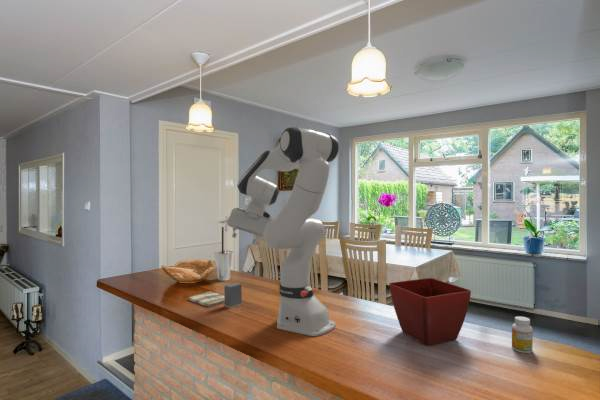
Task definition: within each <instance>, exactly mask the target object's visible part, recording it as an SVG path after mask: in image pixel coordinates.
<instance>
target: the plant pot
mask: <svg viewBox="0 0 600 400" xmlns="http://www.w3.org/2000/svg"><path fill="white" fill-rule="evenodd" d="M388 285H389V286H388V287H389V292H390V297H391V300H392V305H393V309H394V312H395V315H396V318H397V320H398V324H399V326H400V328H401V331H402V333H404V334H406V335H408V337H410V338H413V339H414V340H416V341H418V342H419V343H421V344H423V345H425V346H431V345H432V346H433V345H436V344H442V343H447V342H452V341H456V340H457V339H458V338H459V337H458V336H459V334H460V332H461V329H462V328H463V326H464V323H465V319H466V316H467V312H468V308H469V304H470V300H471V295H472V290H471V289H468V288H465V287H461V286H458V285H455V284H453V283H452V284H451V283H449V282H446V281H442V280H439V279H436V278H432V277H428V278H419V279H417V278H416V279H409V280H401V281H396V282H390V283H389V284H388Z"/></svg>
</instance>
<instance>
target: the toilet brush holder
mask: <svg viewBox="0 0 600 400" xmlns="http://www.w3.org/2000/svg"><path fill="white" fill-rule="evenodd" d="M224 237H225V236H224V226H222V227H221V250H217V251H214V255H215V264H216V274H217V280H218V281H222V282H224V281H225V282H226V281H229V280H230V279H231V266H232V259H233V258H232V256H233V253H234V252H233V250H224V239H225V238H224Z"/></svg>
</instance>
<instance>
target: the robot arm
mask: <svg viewBox="0 0 600 400" xmlns="http://www.w3.org/2000/svg"><path fill="white" fill-rule="evenodd" d="M279 140H280V141H279V142H278V145H277V146H276V147H275V148H273V149H271V150H265V151H264V152H263V153H261V154H260V156H259V157H258V158H257V159H256V160H255V161H254V162H253V164H252V165H251V166H250V167H249V168H248V169H246V171H245V172H244V173H243V174H242V175H241V176H240V177H239V179H238V181H237V185H236V187H237V189H238V191H239V193H240V194H242V195H245V196H248V197H250V201H249V202H248V204H247V206H246V209H242V208H239V207H234V208H233V209H231V212H230V215H229V217H228V218H227V220H226V225H227V226H228V227H229V228H232V234H231V237H232V238H234V239H236V238H237V235H238V234H237V233H236V231H237V230H239V231H243V232H246V233H249V234H253V235H255V236H257V237H256V238H253V239H252V241H251V243H252V244H253V245H256V244H257V242H258V241H260V239H262V238H263V240H264V242H265V244H266V245H267V247H268V248H271V249H277V250H286V249H287V250H288V249H290V250H289V253H288V255H287V256H286V257H285V258H284V259H283V260H282V261H281V263H280V284H279V286H278V290H279V291H278V292H279V295H280V296H279V297H280V300H279V306H278V314H277V318H276V329H278V330H282V331H288V332H292V333H296V334H301V335H303V336H309V337H318V336H321V335H324V334H327V333H329V332H331V331H333V329H334V328H336V322H335V321H333V320H331V319H330V315H329V311H328V308H327V307H326V306H325V305H324V304H323V303H322V302H321V301H320V299H318V298H317V297H316V296H315V293H314V292H315V291H317V290H316V287H312V284H311V264H312V258H313V256H314V253H315V251H316V248H317V247H318V245H319V244H320V243H321V242H322V241H323V240H324V237H325V233H326V231H325V226H324V224H323V222H322V221H321V220H320V219H319V218H315V217H312V216H313V215H315V214H316V213H317V212H318V211H319V209H320V206H321V203H322V201H323V197H324V194H325V190H326V188H327V184H328V179H329V175H330V162H333V161H335V159H336V158H337V156H338V153H339V150H340V149H339V148H340V146H339V141H338V139H337V137H335V136H334V135H331V134H329V133H324V132H321V131H317V130H314V129H309V128H302V127H301V128H300V127H297V126H293V127H286V129H284V130H283V132H282V133H281V135H280V139H279ZM297 167H299V168H298V172H297V174H296V178H295V180H294V183H293V187H292V190H291V192H290V197H289V199H288V201H287V202H286V205H285V206H284V207H283V208H282V209H281V211H280V213H278V214H277V216H275V218H273V215H272V214H271V213H269V212H267V208H268V207H269V206H271V205H274V204H275V203H276V202H277V199H278V195H279V193H280V189H279V186H278V185H277V184H276V183H273V182H271V181H269V180H266V179H265V178H262V177H261V176H258V175H259V174H260V173H261V172H262V171H263V170H273V171H277V172H285V173H287V172H291V171H293V170H295V169H296V168H297Z"/></svg>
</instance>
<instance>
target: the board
mask: <svg viewBox="0 0 600 400" xmlns="http://www.w3.org/2000/svg"><path fill="white" fill-rule="evenodd" d="M187 300H188V301H191V302H193V303H195V304H199V305H202V306H205V307H206V308H207V307H208V308H211V307H214V306H218V305H221V304H225V294H224V295H223V294H221V293H217V292H213V291H211V290H210V291H206V292H203V293H200V294H195V295H191V296H189V297H187Z"/></svg>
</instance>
